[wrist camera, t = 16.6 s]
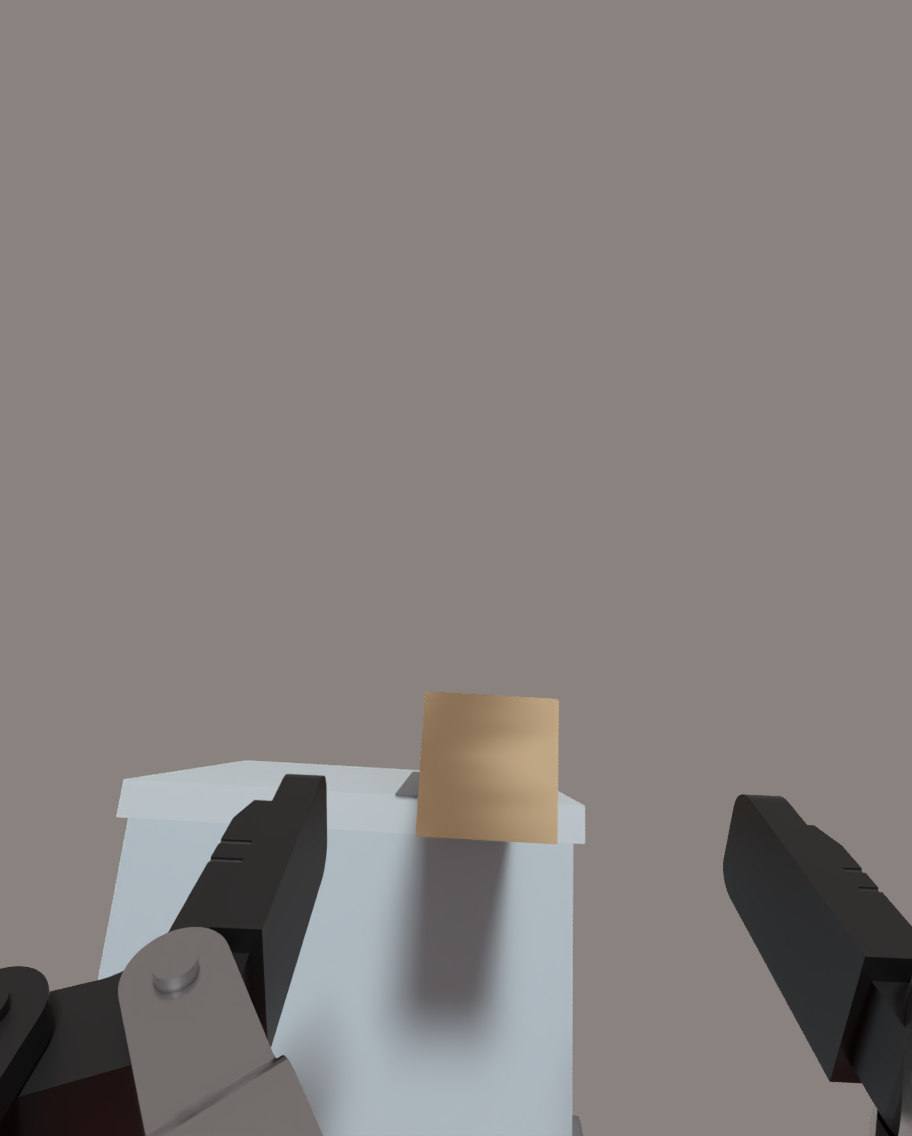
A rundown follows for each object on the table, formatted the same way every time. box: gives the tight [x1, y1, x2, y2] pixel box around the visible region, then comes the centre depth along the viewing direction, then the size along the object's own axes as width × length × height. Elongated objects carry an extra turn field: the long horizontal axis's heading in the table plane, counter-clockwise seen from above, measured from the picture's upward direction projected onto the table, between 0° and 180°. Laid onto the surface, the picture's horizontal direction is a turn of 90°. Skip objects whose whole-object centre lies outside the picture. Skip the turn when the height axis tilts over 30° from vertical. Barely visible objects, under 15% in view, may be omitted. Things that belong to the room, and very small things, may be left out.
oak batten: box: [415, 691, 559, 844], centre depth 24 cm, size 3×22×3 cm, turn 1°
